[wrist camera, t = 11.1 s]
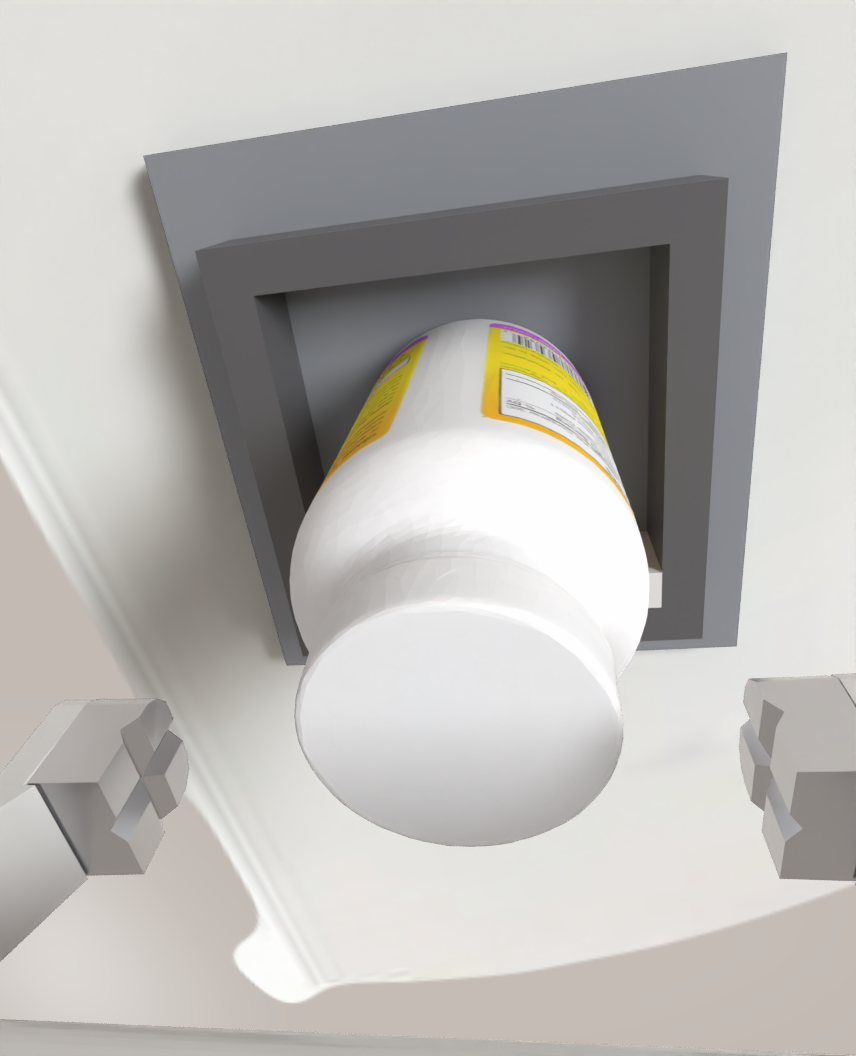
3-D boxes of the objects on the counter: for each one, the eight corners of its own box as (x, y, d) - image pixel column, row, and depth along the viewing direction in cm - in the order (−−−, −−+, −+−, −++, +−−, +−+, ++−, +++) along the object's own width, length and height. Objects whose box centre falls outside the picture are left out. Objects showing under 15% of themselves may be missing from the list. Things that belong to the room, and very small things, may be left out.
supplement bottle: (388, 530, 23) (275, 890, 12) (353, 327, 20) (158, 551, 9) (596, 516, 22) (688, 894, 11) (592, 300, 19) (712, 514, 8)
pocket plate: (159, 155, 19) (94, 156, 16) (773, 57, 17) (831, 36, 14) (293, 649, 27) (266, 712, 24) (728, 628, 25) (759, 695, 22)
